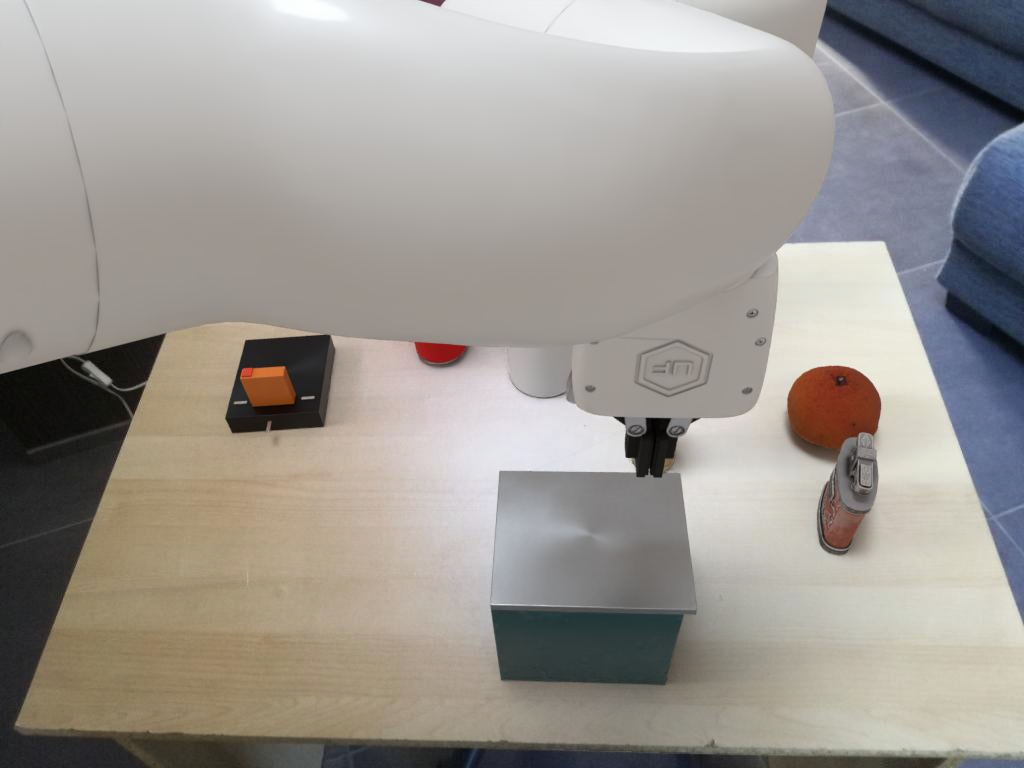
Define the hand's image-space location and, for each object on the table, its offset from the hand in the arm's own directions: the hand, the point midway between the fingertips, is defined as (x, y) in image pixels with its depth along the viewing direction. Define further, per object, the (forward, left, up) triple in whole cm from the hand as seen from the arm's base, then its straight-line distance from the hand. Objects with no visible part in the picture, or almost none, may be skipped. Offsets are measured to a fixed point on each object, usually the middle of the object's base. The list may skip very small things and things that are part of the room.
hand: (647, 459), depth 49 cm
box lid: (-1, +3, -11) cm, 11 cm away
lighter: (+19, -13, -24) cm, 33 cm away
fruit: (+29, -9, -24) cm, 39 cm away
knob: (+2, +43, -21) cm, 48 cm away
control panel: (+4, +45, -24) cm, 51 cm away
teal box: (-2, +3, -24) cm, 24 cm away
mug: (+23, +19, -24) cm, 39 cm away
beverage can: (+19, +33, -24) cm, 45 cm away
